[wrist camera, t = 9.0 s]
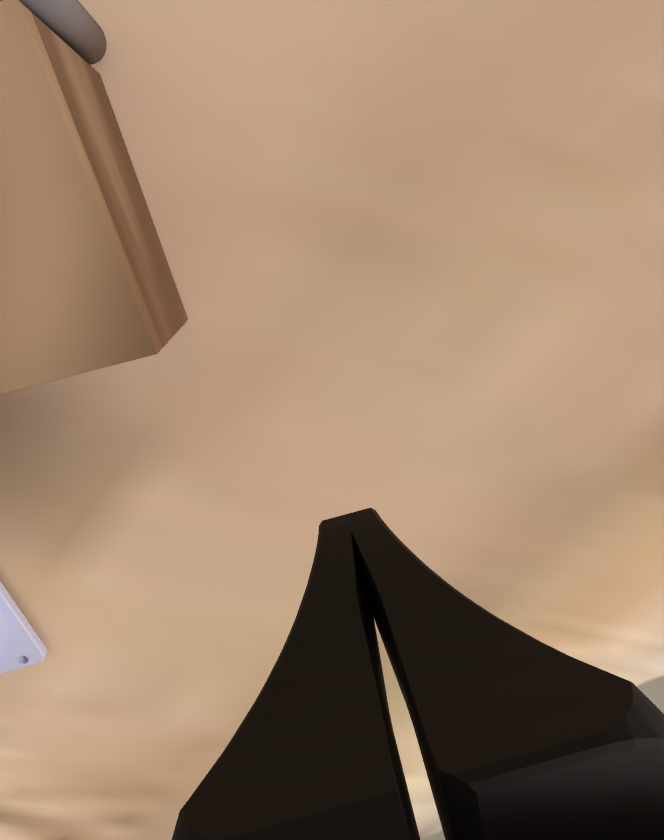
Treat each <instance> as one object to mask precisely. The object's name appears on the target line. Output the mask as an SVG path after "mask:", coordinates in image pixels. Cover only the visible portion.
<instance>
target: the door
mask: <svg viewBox="0 0 664 840" xmlns="http://www.w3.org/2000/svg"><path fill="white" fill-rule="evenodd" d="M0 1H2V0H0ZM19 1H20V2H21V3H22V4H23V5H24V6H25V7H26V8H27V9H29V10H30V11H31V12H32V13H33V14H34V15H35V16H36V17H37V18H38V19H40V20H41V21H42V22H43V23H44V24H45V25H46V26H47V27H48V28H49V29H51V30H52V31H53V32H54V33H55V34H56V35H57V36H58V37H59V38H60V39H62V40H63V41H64V42H65V43H66V44H67V45H68V46H69V47H70V48H72V49H73V50H74V51H75V52H76V53H77V54H78V55H79V56H80V57H81V58H83V59H84V60H85V61H86V62H87V63H88V64H94V63H97V62H99V61H100V60H101V59H102V58H103V56H104V54H105V51H106V39H105V35H104V33H103V31H102V29H101V27H100V26H99V25H98V24H97V22H96V21H95V20H94V19H93V18H92V16H91V15H90V14H89V13H88V12H87V11H86V9H85V8H84V7H83V6H82V5H81V3H80V2H79V1H78V0H19Z"/></svg>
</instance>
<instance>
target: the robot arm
mask: <svg viewBox="0 0 664 840" xmlns="http://www.w3.org/2000/svg"><path fill="white" fill-rule="evenodd" d="M373 616H374V617H373ZM374 619H375V622H376V624H377V627H378V630H379V632H380V635H381V638H382V641H383V643H384V646H385V649H386V651H387V654H388V657H389V659H390V662H391V665H392V667H393V670H394V673H395V675H396V678H397V681H398V683H399V686H400V689H401V691H402V694H403V697H404V699H405V702H406V705H407V708H408V711H409V714H410V717H411V720H412V723H413V726H414V730H415V733H416V737H417V740H418V744H419V747H420V751H421V754H422V758H423V761H424V765H425V768H426V772H427V775H428V779H429V783H430V786H431V790H432V793H433V797H434V800H435V804H436V807H437V811H438V814H439V818H440V822H441V825H442V829H443V832H444V836H445V839H446V840H664V714H663V713H662V712H661V711H660V710H659V709H658V708H657V707H656V706H655V705H654V704H653V703H652V702H651V701H650V700H649V699H648V698H647V697H646V696H645V695H644V694H643V693H642V692H641V691H640V690H639V689H638V688H637V687H636V686H635V685H634V684H633V683H632V682H630V681H628V680H625V679H623V678H620V677H618V676H616V675H613V674H611V673H608V672H606V671H604V670H601V669H599V668H596V667H594V666H592V665H589V664H587V663H584V662H582V661H580V660H577V659H575V658H572V657H570V656H568V655H566V654H564V653H562V652H560V651H558V650H556V649H554V648H552V647H550V646H548V645H546V644H544V643H542V642H540V641H538V640H536V639H535V638H533V637H531V636H529V635H527V634H526V633H524V632H522V631H520V630H519V629H517V628H515V627H513V626H512V625H510V624H508V623H506V622H504V621H503V620H501V619H499V618H497V617H496V616H494V615H493V614H491V613H490V612H488V611H487V610H485V609H483V608H482V607H480V606H479V605H477V604H476V603H474V602H473V601H471V600H470V599H469V598H467V597H466V596H464V595H463V594H462V593H460V592H459V591H457V590H456V589H455V588H453V587H452V586H451V585H450V584H448V583H447V582H446V581H444V580H443V579H442V578H441V577H440V576H438V575H437V574H436V573H435V572H434V571H432V570H431V569H430V568H429V567H428V566H426V565H425V564H424V563H423V562H422V561H421V560H420V559H419V558H418V557H417V556H416V555H415V554H413V553H412V552H411V551H410V550H409V549H408V548H407V547H406V546H405V545H404V544H403V543H402V542H401V541H400V540H399V539H398V538H397V537H396V535H395V534H394V533H393V532H392V531H391V530H390V529H389V528H388V526H387V525H386V524H385V523H384V521H383V520H382V519H381V518H380V516H379V515H378V513H377V512H376V510H374V509H372V508H368V509H364V510H361V511H357V512H353V513H349V514H346V515H342V516H338V517H335V518H331V519H327V520H324V521H322V522H321V524H320V525H319V535H318V542H317V548H316V552H315V557H314V562H313V565H312V569H311V573H310V577H309V580H308V584H307V587H306V590H305V593H304V596H303V599H302V602H301V605H300V608H299V610H298V613H297V616H296V619H295V621H294V624H293V626H292V629H291V631H290V633H289V636H288V638H287V640H286V643H285V645H284V647H283V649H282V651H281V654H280V656H279V658H278V660H277V662H276V664H275V666H274V667H273V669H272V671H271V673H270V675H269V677H268V679H267V681H266V683H265V685H264V687H263V688H262V690H261V692H260V694H259V696H258V697H257V699H256V701H255V703H254V704H253V706H252V707H251V709H250V711H249V712H248V714H247V715H246V717H245V719H244V720H243V722H242V723H241V725H240V727H239V728H238V730H237V731H236V733H235V735H234V736H233V738H232V739H231V741H230V743H229V744H228V746H227V747H226V748H225V750H224V751H223V753H222V754H221V756H220V757H219V759H218V760H217V761H216V763H215V764H214V765H213V767H212V768H211V770H210V771H209V772H208V774H207V775H206V776H205V778H204V779H203V781H202V782H201V783H200V785H199V786H198V787H197V789H196V790H195V792H194V793H193V794H192V796H191V797H190V798H189V800H188V801H187V802H186V804H185V805H184V806H183V808H182V809H181V810H180V812H179V816H178V819H177V823H176V826H175V830H174V834H173V837H172V840H420V837H419V833H418V829H417V825H416V821H415V817H414V813H413V809H412V805H411V801H410V797H409V793H408V789H407V785H406V781H405V777H404V773H403V769H402V765H401V761H400V757H399V752H398V748H397V744H396V740H395V736H394V732H393V728H392V723H391V718H390V713H389V708H388V702H387V696H386V690H385V684H384V677H383V671H382V665H381V659H380V653H379V647H378V641H377V635H376V629H375V623H374ZM46 654H47V649H46V647H45V646H44V644H43V643H42V641H41V640H40V638H39V637H38V636H37V634H36V633H35V631H34V630H33V628H32V627H31V625H30V624H29V622H28V621H27V620H26V618H25V617H24V615H23V614H22V612H21V611H20V609H19V608H18V606H17V605H16V603H15V602H14V601H13V599H12V598H11V596H10V595H9V593H8V592H7V590H6V589H5V587H4V586H3V585H2V583H1V582H0V673H4V672H7V671H11V670H15V669H18V668H22V667H26V666H29V665H33V664H37V663H40V662H42V661H43V660H44V658H45V656H46ZM25 656H26V657H25Z"/></svg>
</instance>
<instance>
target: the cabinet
mask: <svg viewBox="0 0 664 840" xmlns="http://www.w3.org/2000/svg"><path fill="white" fill-rule="evenodd" d="M187 320H188V318H187V316H186V313H185V310H184V307H183V304H182V302H181V299H180V296H179V293H178V290H177V288H176V285H175V282H174V279H173V277H172V274H171V271H170V268H169V265H168V263H167V260H166V257H165V254H164V251H163V249H162V246H161V243H160V240H159V238H158V235H157V232H156V229H155V226H154V224H153V221H152V218H151V215H150V212H149V210H148V207H147V204H146V201H145V199H144V196H143V193H142V190H141V187H140V185H139V182H138V179H137V176H136V173H135V171H134V168H133V165H132V162H131V160H130V157H129V154H128V151H127V148H126V146H125V143H124V140H123V137H122V134H121V132H120V129H119V126H118V123H117V121H116V118H115V115H114V112H113V109H112V107H111V104H110V101H109V98H108V95H107V93H106V90H105V87H104V84H103V82H102V79H101V76H100V74H99V73H98V72H97V71H96V70H95V69H94V68H92V67H91V66H90V65H89V64H88V63H87V62H86V61H85V60H84V59H83V58H81V57H80V56H79V55H78V54H77V53H76V52H75V51H74V50H73V49H72V48H70V47H69V46H68V45H67V44H66V43H65V42H64V41H63V40H62V39H60V38H59V37H58V36H57V35H56V34H55V33H54V32H53V31H52V30H51V29H49V28H48V27H47V26H46V25H45V24H44V23H43V22H42V21H41V20H40V19H38V18H37V17H36V16H35V15H34V14H33V13H32V12H31V11H30V10H29V9H27V8H26V7H25V6H24V5H23V4H22V3H21V2H20V1H19V0H2V1H0V394H3V393H7V392H11V391H15V390H19V389H23V388H27V387H30V386H34V385H38V384H42V383H46V382H50V381H54V380H58V379H61V378H65V377H69V376H73V375H77V374H81V373H85V372H88V371H92V370H96V369H100V368H104V367H108V366H112V365H116V364H119V363H123V362H127V361H131V360H135V359H139V358H143V357H147V356H150V355H154V354H157V353H158V352H159V351H160V350H161V349H162V348H163V347H164V346H165V345H166V343H167V342H168V341H169V340H170V339H171V338H172V337H173V336H174V335H175V334H176V332H177V331H178V330H179V329H180V328H181V327H182V326H183V325H184V324H185V322H186V321H187Z"/></svg>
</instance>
